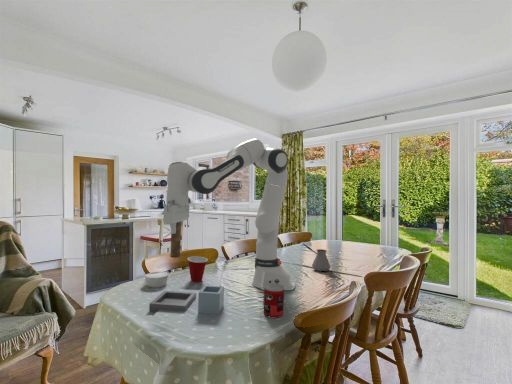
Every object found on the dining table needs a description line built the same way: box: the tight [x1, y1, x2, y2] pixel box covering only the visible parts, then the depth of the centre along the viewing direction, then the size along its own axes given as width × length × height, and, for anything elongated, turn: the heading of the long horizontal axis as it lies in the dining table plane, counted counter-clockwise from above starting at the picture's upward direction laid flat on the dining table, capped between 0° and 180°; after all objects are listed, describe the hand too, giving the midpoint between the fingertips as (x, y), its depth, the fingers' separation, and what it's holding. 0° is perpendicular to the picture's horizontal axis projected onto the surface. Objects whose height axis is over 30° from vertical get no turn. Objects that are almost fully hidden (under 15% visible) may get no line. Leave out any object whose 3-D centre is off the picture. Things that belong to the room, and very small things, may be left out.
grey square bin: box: [197, 284, 225, 315], centre depth 113 cm, size 8×8×9 cm
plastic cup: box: [187, 255, 209, 283], centre depth 152 cm, size 11×11×12 cm
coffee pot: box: [301, 243, 331, 272], centre depth 183 cm, size 21×12×15 cm, turn 43°
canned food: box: [263, 284, 285, 318], centre depth 113 cm, size 8×8×11 cm
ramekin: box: [144, 271, 169, 288], centre depth 143 cm, size 11×11×5 cm
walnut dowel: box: [169, 223, 182, 259], centre depth 119 cm, size 4×4×14 cm
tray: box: [148, 290, 197, 312], centre depth 119 cm, size 15×15×3 cm
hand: (176, 232), depth 119 cm, fingers closed on walnut dowel, 4 cm apart
